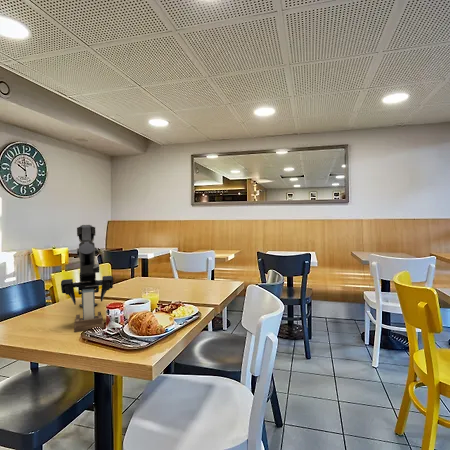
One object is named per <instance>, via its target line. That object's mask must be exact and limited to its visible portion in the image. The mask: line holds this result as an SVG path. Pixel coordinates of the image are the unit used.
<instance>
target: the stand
mask: <svg viewBox="0 0 450 450" xmlns="http://www.w3.org/2000/svg"><path fill="white" fill-rule="evenodd" d="M80 316H81V314H76V315H75V319H74V327H73V332H74V333H78V332H85V331H89V330H88V329H91V328H95V327H100V328H99V329H104V328H105V325H104V323H105V321H104V318H103V314H102V311H97V315H95V319H88V320H83V317H80Z"/></svg>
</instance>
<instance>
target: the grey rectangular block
mask: <svg viewBox="0 0 450 450" xmlns="http://www.w3.org/2000/svg"><path fill="white" fill-rule="evenodd" d="M82 296H83V307H82V318H83V320H88V319H95V316H96V315H95V314H96V313H95V306H94V288H93V289H83V291H82V294H81V297H82Z"/></svg>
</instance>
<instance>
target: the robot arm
mask: <svg viewBox="0 0 450 450" xmlns="http://www.w3.org/2000/svg"><path fill="white" fill-rule="evenodd" d="M95 236H96V226H93V225H92V224H82V225H80V226H78V227H76V237H78V240H79V243H78V248H77V249H76V255H77V257H78V258H79V281H73V279H74V278H68V279H67V278H66V279H62V280H61V281H60V289H61V294H65V295H67V296H69V297H70V299H71V300H72V303H73V305H76V304H77V301H76V295H75V293H76V292H75V289H74V288H78V289H77V291H78V295H81V304H78V305H79V307H81V308H83V296H82V291H83V289H93V288H94V307H95V306H96V307H97V306H98V303H96V300H95V299H96V296H95V293H96V294H98V293H99V292H100V302H103V299H104V296H105V295H106V293H107V292H108V291H109V290H111V289H113V288H114V277H113V276H112V275H103V276H102V279H98V280H97V275H96V273H97V274H98V273H100V264H99V263H95V262H96V261H95V259H96V256H97V255H98V253H99V250H98V248H97V247H96V246H95V242H94V240H95ZM100 286H101V289H100Z"/></svg>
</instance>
